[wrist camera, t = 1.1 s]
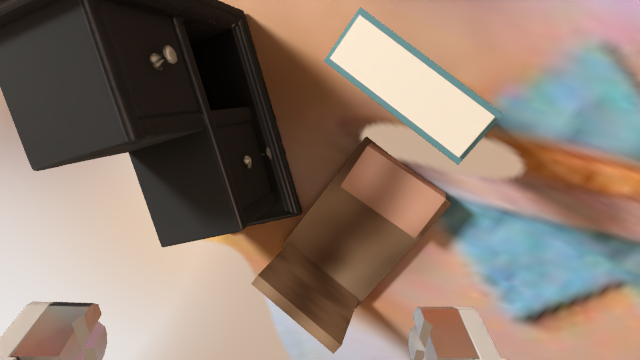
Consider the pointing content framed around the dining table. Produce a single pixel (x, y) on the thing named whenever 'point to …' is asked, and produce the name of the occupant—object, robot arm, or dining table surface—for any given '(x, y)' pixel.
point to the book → (411, 86)
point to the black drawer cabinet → (151, 105)
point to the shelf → (350, 241)
